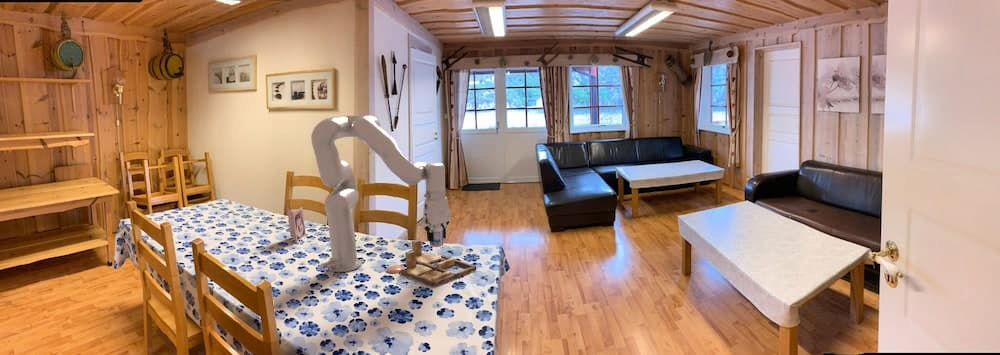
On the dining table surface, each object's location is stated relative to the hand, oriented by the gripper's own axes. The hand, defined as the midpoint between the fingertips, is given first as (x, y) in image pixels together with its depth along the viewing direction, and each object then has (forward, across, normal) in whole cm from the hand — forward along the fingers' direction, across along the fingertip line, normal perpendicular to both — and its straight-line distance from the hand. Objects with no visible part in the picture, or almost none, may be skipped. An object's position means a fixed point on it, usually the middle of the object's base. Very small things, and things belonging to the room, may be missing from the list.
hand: (436, 239), depth 194 cm
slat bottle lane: (+11, +1, +5) cm, 12 cm away
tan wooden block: (+11, -9, +1) cm, 14 cm away
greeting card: (+14, -22, +81) cm, 85 cm away
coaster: (+12, -14, +9) cm, 20 cm away
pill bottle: (+3, 0, 0) cm, 3 cm away
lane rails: (+11, -4, -6) cm, 13 cm away
